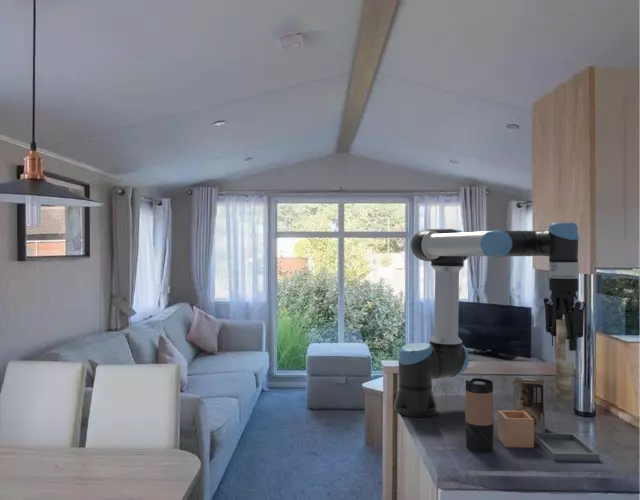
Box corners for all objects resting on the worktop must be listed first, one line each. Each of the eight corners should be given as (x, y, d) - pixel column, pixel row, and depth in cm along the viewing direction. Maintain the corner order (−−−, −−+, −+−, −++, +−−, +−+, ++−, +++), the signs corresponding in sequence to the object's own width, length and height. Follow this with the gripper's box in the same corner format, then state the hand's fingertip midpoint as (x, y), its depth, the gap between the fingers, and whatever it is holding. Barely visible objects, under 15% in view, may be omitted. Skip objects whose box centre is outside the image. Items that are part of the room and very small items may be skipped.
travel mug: (495, 457, 147) (494, 385, 147) (466, 455, 148) (466, 384, 148) (491, 447, 154) (491, 378, 154) (464, 445, 156) (464, 377, 156)
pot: (497, 440, 160) (497, 410, 160) (524, 440, 160) (524, 410, 160) (505, 450, 152) (505, 419, 152) (534, 450, 152) (533, 419, 152)
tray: (532, 441, 159) (532, 432, 159) (573, 442, 158) (573, 433, 158) (553, 463, 143) (553, 453, 143) (599, 464, 142) (599, 454, 142)
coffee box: (545, 430, 168) (545, 379, 168) (544, 437, 163) (544, 384, 163) (514, 426, 172) (514, 376, 172) (512, 432, 166) (512, 381, 166)
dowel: (554, 395, 152) (553, 318, 152) (568, 395, 152) (568, 318, 152) (559, 399, 148) (559, 320, 148) (574, 399, 148) (574, 320, 148)
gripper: (531, 276, 157) (532, 355, 157) (576, 279, 141) (577, 367, 141) (552, 275, 159) (552, 353, 159) (598, 278, 143) (599, 365, 143)
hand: (564, 360), depth 150 cm, fingers closed on dowel, 4 cm apart
